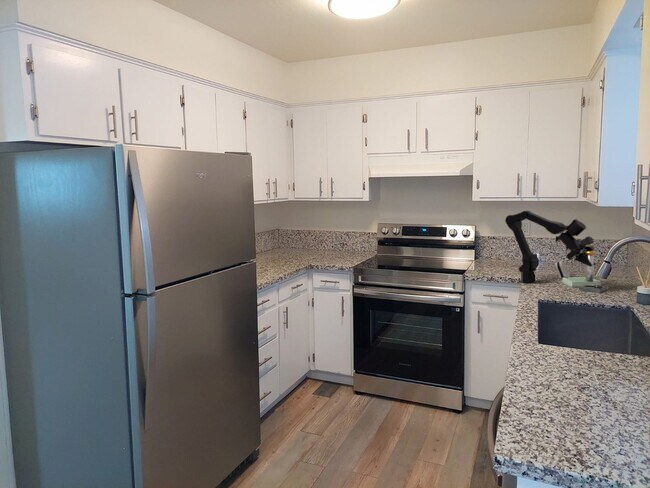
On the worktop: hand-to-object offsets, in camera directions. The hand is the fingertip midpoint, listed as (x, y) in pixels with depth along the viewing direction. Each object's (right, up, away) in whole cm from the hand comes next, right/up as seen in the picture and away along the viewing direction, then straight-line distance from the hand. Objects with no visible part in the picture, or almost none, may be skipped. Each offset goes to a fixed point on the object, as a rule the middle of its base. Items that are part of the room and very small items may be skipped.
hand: (593, 265), depth 227 cm
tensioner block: (0, -12, +1) cm, 13 cm away
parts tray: (+3, -11, +16) cm, 20 cm away
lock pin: (0, -8, +2) cm, 8 cm away
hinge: (+7, -9, +43) cm, 45 cm away
